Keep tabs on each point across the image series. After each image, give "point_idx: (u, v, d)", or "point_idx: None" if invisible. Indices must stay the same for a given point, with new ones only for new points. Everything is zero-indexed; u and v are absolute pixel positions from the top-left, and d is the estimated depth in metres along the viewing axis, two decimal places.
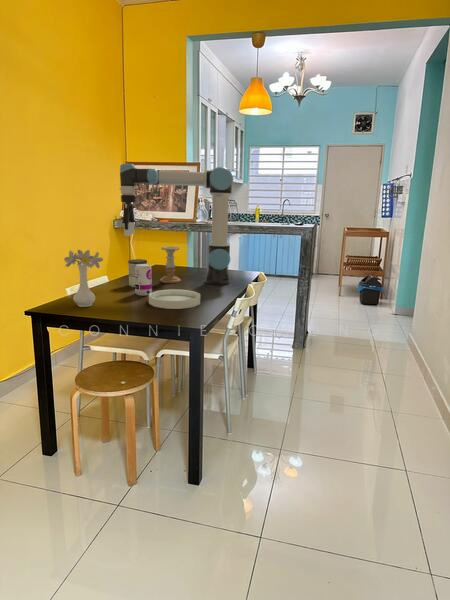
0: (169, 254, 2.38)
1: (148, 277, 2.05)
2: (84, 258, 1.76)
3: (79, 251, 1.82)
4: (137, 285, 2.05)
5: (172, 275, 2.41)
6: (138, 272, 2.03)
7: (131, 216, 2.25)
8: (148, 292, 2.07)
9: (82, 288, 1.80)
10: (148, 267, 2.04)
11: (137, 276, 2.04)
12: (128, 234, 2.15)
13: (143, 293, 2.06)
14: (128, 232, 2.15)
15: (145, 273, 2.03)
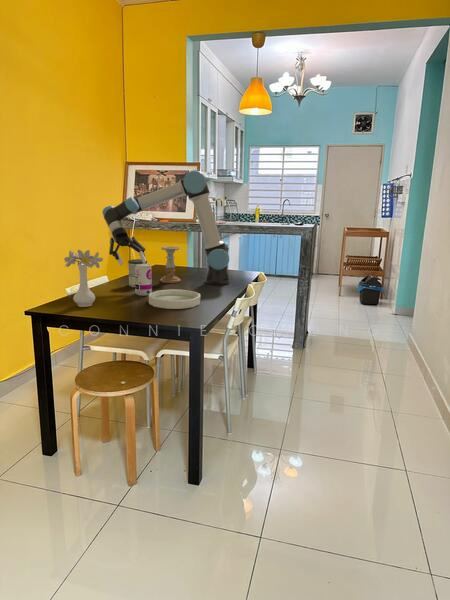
0: (169, 254, 2.38)
1: (148, 277, 2.05)
2: (84, 258, 1.76)
3: (79, 251, 1.82)
4: (137, 285, 2.05)
5: (172, 275, 2.41)
6: (138, 272, 2.03)
7: (134, 247, 2.18)
8: (148, 292, 2.07)
9: (82, 288, 1.80)
10: (148, 267, 2.04)
11: (137, 276, 2.04)
12: (121, 262, 2.06)
13: (143, 293, 2.06)
14: (120, 260, 2.07)
15: (145, 273, 2.04)
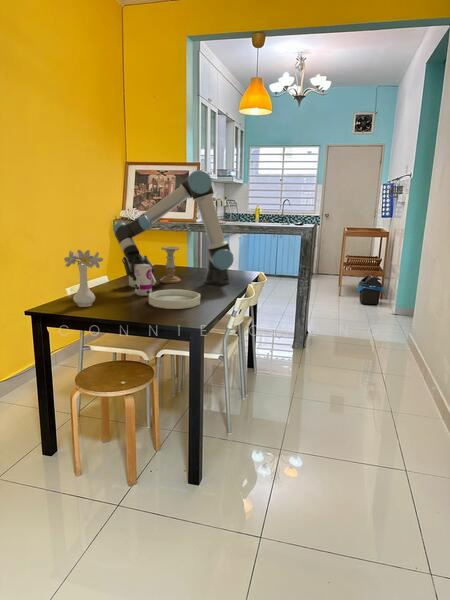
0: (169, 254, 2.38)
1: (148, 277, 2.05)
2: (84, 258, 1.76)
3: (79, 251, 1.82)
4: None
5: (172, 275, 2.41)
6: (138, 272, 2.03)
7: None
8: (148, 292, 2.07)
9: (82, 288, 1.80)
10: (148, 267, 2.04)
11: None
12: (138, 283, 2.02)
13: (143, 293, 2.06)
14: (138, 281, 2.03)
15: (145, 273, 2.03)
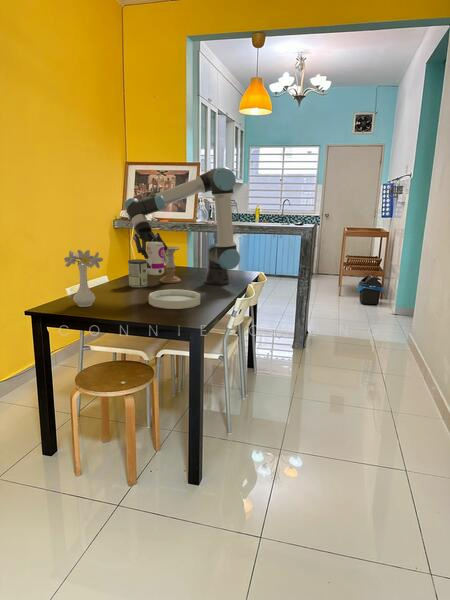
0: (169, 254, 2.38)
1: (160, 255, 1.93)
2: (84, 258, 1.76)
3: (79, 251, 1.82)
4: None
5: (172, 275, 2.41)
6: (150, 250, 1.92)
7: None
8: (160, 271, 1.95)
9: (82, 288, 1.80)
10: (160, 245, 1.93)
11: None
12: (150, 261, 1.91)
13: (155, 272, 1.94)
14: (149, 259, 1.91)
15: (157, 251, 1.92)
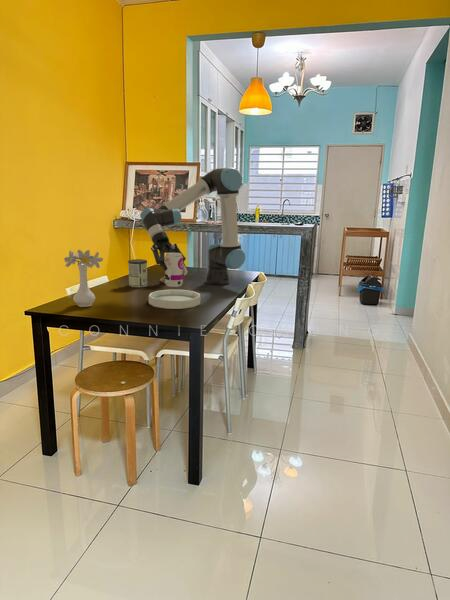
0: None
1: (180, 266, 1.88)
2: (84, 258, 1.76)
3: (79, 251, 1.82)
4: (167, 275, 1.89)
5: None
6: (169, 261, 1.87)
7: None
8: (179, 283, 1.90)
9: (82, 288, 1.80)
10: (180, 256, 1.88)
11: (168, 265, 1.87)
12: (169, 272, 1.86)
13: (174, 284, 1.89)
14: (169, 271, 1.86)
15: (177, 262, 1.87)
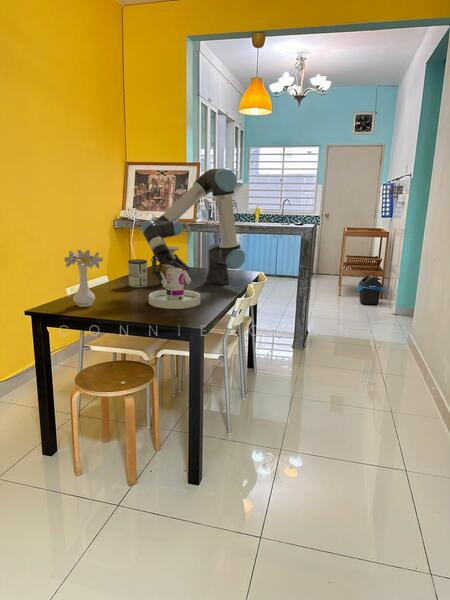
0: None
1: (181, 282, 1.90)
2: (84, 258, 1.76)
3: (79, 251, 1.82)
4: (169, 290, 1.91)
5: None
6: (170, 277, 1.89)
7: (177, 265, 1.97)
8: (180, 298, 1.92)
9: (82, 288, 1.80)
10: (181, 271, 1.90)
11: (169, 281, 1.90)
12: (165, 283, 1.86)
13: (175, 299, 1.91)
14: (164, 281, 1.87)
15: (178, 278, 1.89)
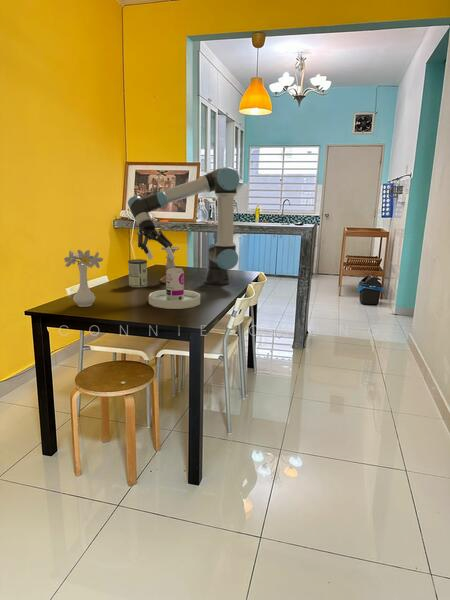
0: None
1: (181, 282, 1.90)
2: (84, 258, 1.76)
3: (79, 251, 1.82)
4: (169, 290, 1.91)
5: None
6: (170, 277, 1.89)
7: (162, 241, 2.06)
8: (180, 298, 1.92)
9: (82, 288, 1.80)
10: (181, 271, 1.90)
11: (169, 281, 1.90)
12: (150, 256, 1.94)
13: (175, 299, 1.91)
14: (150, 254, 1.94)
15: (177, 278, 1.89)
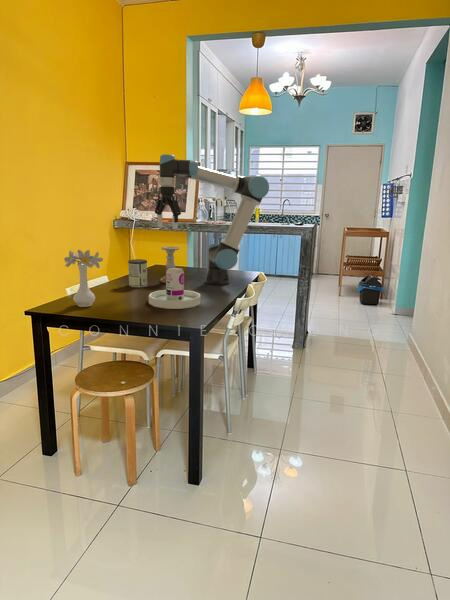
0: (169, 254, 2.38)
1: (181, 282, 1.90)
2: (84, 258, 1.76)
3: (79, 251, 1.82)
4: (169, 290, 1.91)
5: None
6: (170, 277, 1.89)
7: (162, 208, 2.18)
8: (180, 298, 1.92)
9: (82, 288, 1.80)
10: (181, 271, 1.90)
11: (169, 281, 1.90)
12: (176, 227, 2.11)
13: (175, 299, 1.91)
14: (176, 225, 2.11)
15: (177, 278, 1.89)
